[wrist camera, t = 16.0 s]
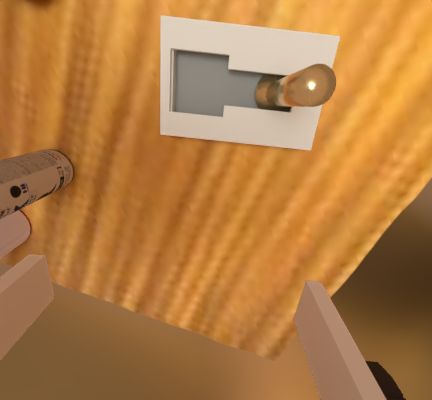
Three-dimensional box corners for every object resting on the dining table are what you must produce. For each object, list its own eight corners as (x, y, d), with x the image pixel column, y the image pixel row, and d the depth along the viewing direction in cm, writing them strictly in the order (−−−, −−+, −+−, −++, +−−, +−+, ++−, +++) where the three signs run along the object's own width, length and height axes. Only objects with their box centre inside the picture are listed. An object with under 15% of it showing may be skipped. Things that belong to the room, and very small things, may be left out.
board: (167, 25, 31) (160, 15, 28) (327, 43, 32) (340, 36, 28) (165, 131, 37) (160, 134, 33) (302, 146, 37) (310, 150, 34)
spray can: (52, 192, 41) (-85, 263, 23) (26, 157, 39) (-151, 206, 20) (82, 177, 40) (-37, 241, 22) (57, 141, 38) (-101, 177, 19)
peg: (258, 68, 32) (288, 38, 18) (300, 73, 32) (364, 47, 18) (251, 113, 34) (273, 120, 20) (290, 118, 34) (340, 127, 20)
